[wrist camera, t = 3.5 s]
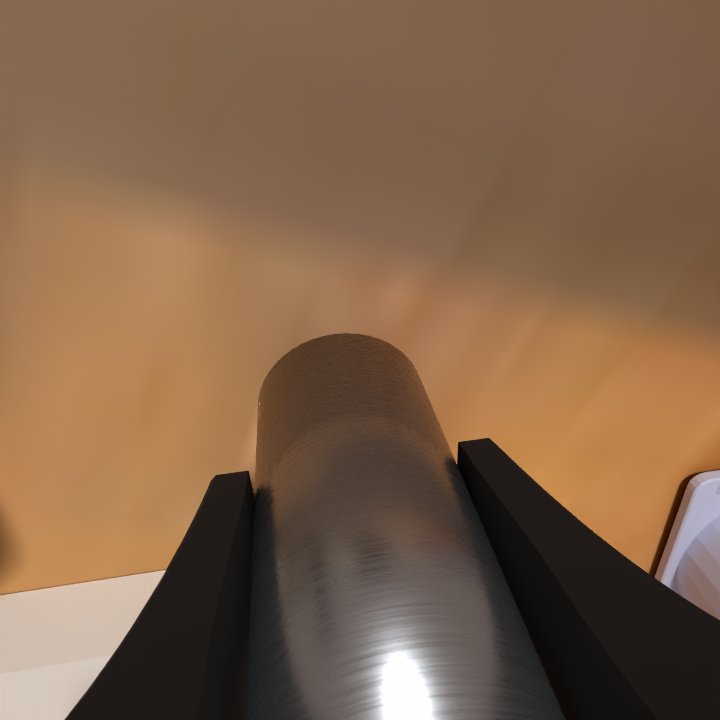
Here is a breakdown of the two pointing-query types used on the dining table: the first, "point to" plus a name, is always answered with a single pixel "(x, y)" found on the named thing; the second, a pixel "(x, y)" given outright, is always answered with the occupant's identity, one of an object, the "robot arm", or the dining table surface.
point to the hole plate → (63, 641)
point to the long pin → (374, 556)
